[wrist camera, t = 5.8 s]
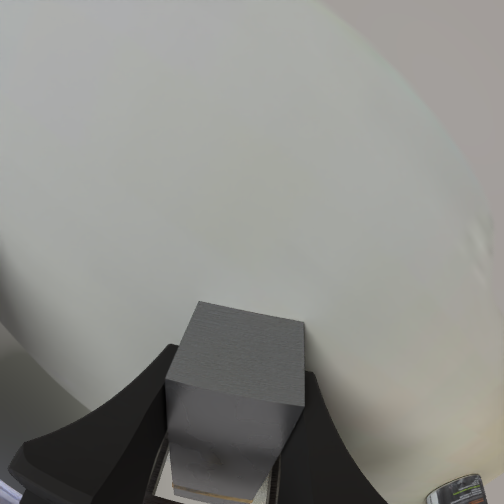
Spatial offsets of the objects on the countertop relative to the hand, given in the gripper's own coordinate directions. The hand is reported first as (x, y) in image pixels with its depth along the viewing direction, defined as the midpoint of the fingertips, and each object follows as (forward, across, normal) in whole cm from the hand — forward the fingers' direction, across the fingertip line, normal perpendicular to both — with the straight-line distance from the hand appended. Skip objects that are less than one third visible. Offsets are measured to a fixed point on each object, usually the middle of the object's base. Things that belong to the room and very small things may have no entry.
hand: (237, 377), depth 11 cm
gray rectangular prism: (+2, 0, +4) cm, 4 cm away
